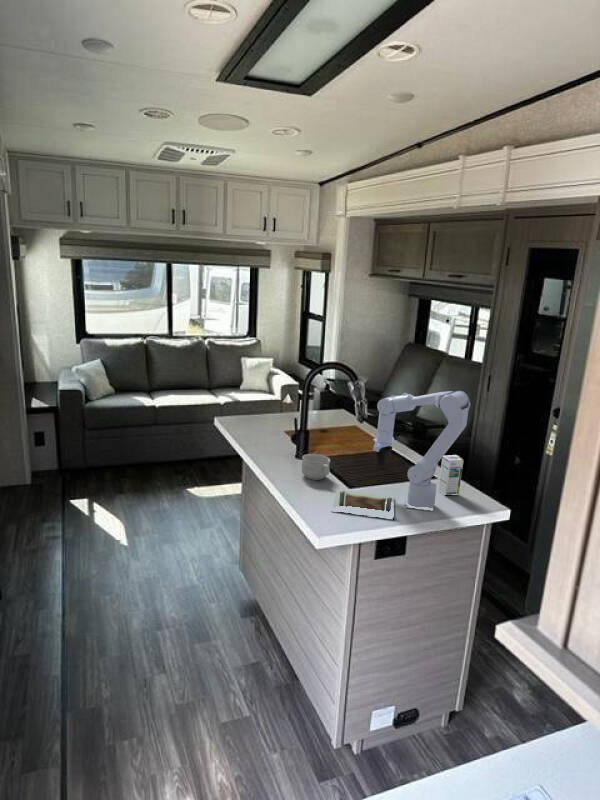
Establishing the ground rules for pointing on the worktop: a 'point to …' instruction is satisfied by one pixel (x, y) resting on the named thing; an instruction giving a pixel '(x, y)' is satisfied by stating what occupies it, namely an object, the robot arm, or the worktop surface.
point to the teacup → (315, 466)
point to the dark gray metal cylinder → (342, 494)
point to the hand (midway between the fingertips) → (381, 464)
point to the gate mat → (337, 497)
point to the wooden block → (365, 502)
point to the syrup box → (450, 474)
